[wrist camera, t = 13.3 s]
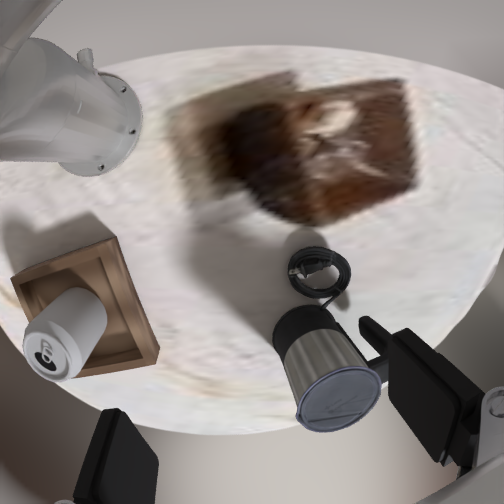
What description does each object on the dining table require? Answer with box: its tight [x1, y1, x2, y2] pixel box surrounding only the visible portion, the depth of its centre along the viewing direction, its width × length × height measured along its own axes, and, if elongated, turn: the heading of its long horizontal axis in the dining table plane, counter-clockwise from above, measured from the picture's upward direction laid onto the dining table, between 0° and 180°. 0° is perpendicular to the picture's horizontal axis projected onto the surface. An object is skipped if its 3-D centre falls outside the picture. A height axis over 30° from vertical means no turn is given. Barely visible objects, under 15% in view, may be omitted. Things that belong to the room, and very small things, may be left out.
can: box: [23, 287, 107, 382], centre depth 30 cm, size 8×8×12 cm
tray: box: [10, 236, 160, 379], centre depth 34 cm, size 16×16×4 cm
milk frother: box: [273, 246, 392, 432], centre depth 33 cm, size 14×16×15 cm
